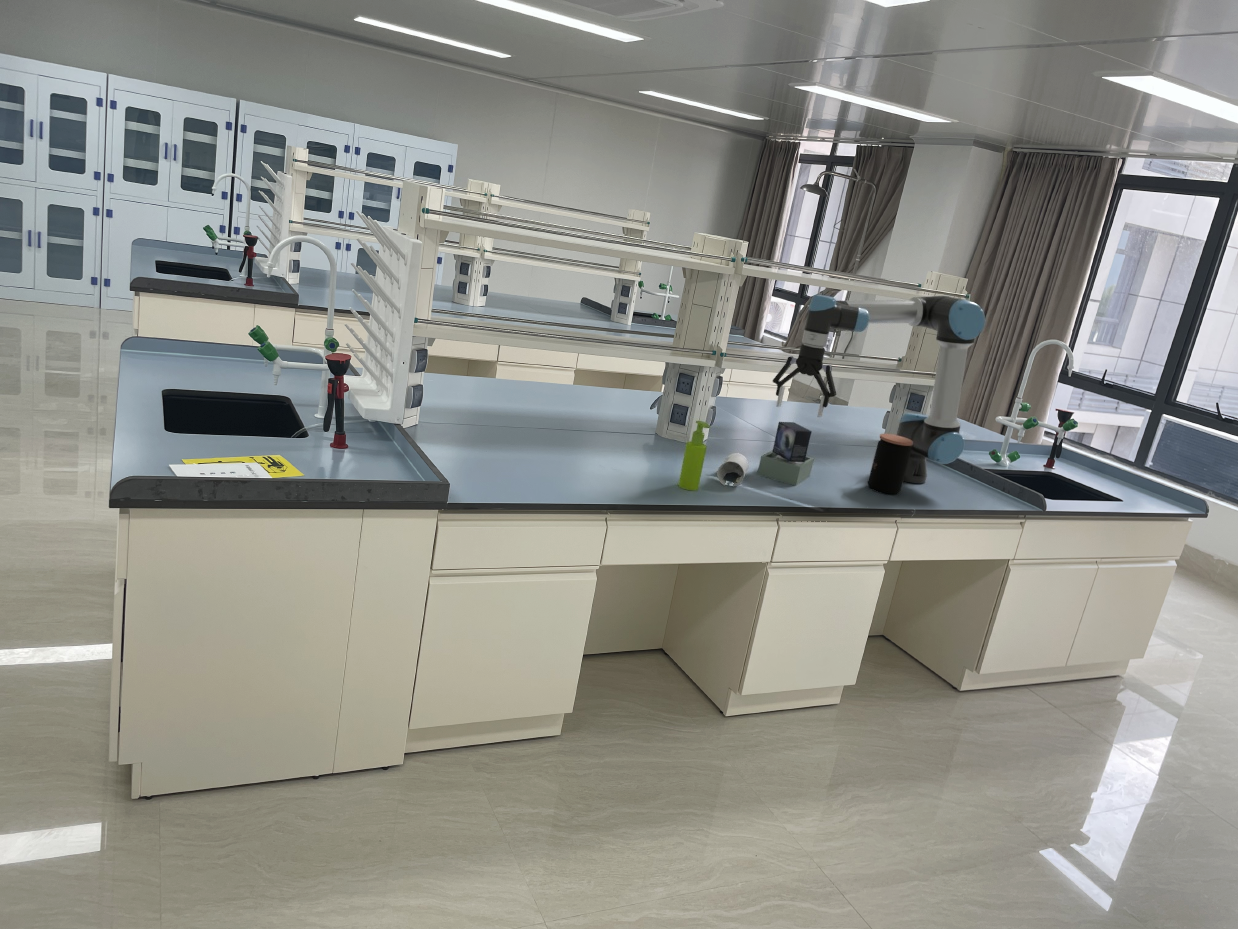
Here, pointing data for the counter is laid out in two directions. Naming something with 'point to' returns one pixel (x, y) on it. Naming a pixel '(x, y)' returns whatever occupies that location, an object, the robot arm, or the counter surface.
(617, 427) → the counter surface
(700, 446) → the soap dispenser
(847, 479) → the counter surface
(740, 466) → the white bottle
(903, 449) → the coffee jar
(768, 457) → the box
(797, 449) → the small box
